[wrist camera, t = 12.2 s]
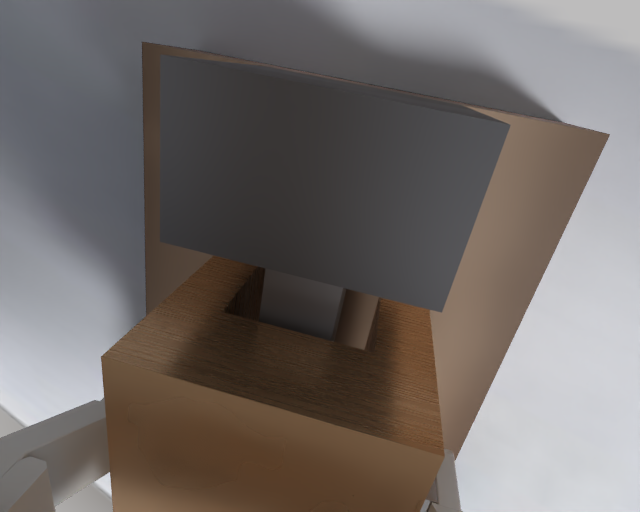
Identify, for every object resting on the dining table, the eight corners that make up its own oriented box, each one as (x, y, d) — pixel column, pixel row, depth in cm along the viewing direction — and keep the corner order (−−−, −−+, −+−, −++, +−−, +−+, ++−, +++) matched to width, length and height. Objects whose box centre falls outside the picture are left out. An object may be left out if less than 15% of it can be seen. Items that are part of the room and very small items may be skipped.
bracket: (564, 122, 12) (799, 182, 5) (417, 469, 19) (426, 707, 12) (195, 50, 13) (-52, 12, 6) (182, 400, 20) (59, 578, 13)
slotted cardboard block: (428, 294, 10) (445, 457, 6) (359, 495, 14) (337, 693, 9) (226, 244, 11) (100, 356, 6) (209, 449, 14) (121, 614, 10)
